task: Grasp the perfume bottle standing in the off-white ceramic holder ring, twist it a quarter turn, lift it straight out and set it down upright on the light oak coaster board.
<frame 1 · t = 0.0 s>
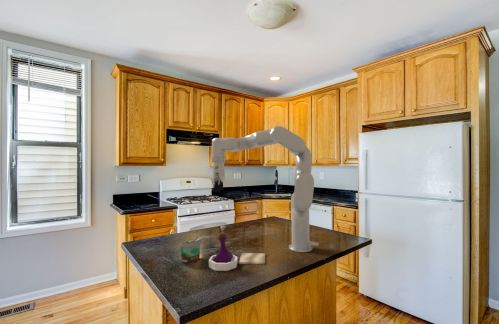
hand: (218, 191, 143), 31 cm above the counter, tool pointing down, fingers open, 9 cm apart
coaster board: (252, 259, 124), on the counter
perfume bottle: (223, 265, 117), resting in holder ring
holder ring: (223, 265, 117), on the counter
food container: (193, 261, 122), on the counter
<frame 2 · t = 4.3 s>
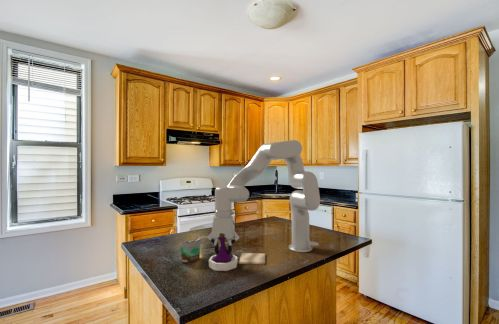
hand: (223, 253, 117), 5 cm above the counter, tool pointing down, fingers closed on perfume bottle, 5 cm apart
perfume bottle: (223, 265, 117), resting in holder ring, touching gripper
everything else where it was.
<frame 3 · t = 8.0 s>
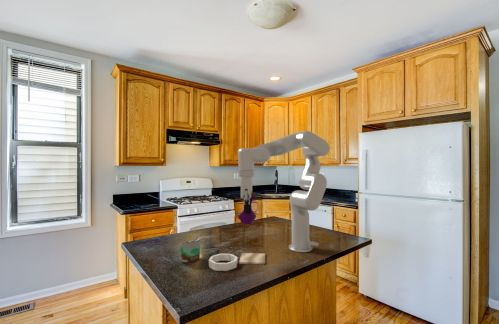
hand: (247, 211, 123), 23 cm above the counter, tool pointing down, fingers closed on perfume bottle, 5 cm apart
perfume bottle: (247, 223, 123), point 18 cm above the counter, touching gripper
everything else where it was.
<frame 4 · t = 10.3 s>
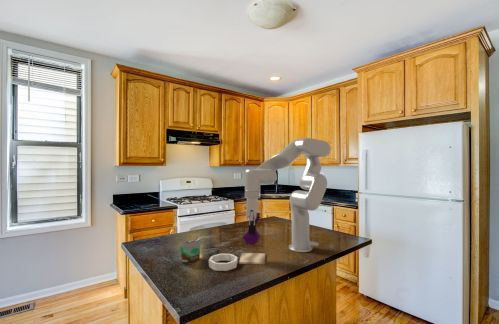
hand: (252, 231, 124), 13 cm above the counter, tool pointing down, fingers closed on perfume bottle, 5 cm apart
perfume bottle: (251, 243, 124), point 8 cm above the counter, touching gripper
everything else where it was.
when the fingers open (7 cm above the counter, at t = 12.0 s): perfume bottle stays where it is, resting on coaster board.
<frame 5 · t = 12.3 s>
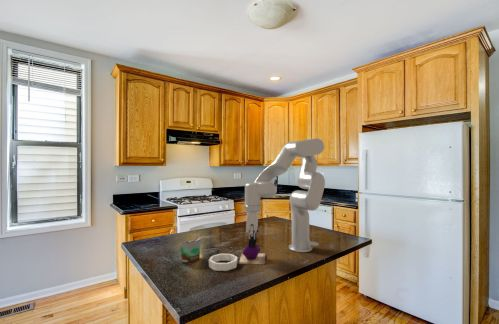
hand: (252, 244, 124), 7 cm above the counter, tool pointing down, fingers open, 7 cm apart
perfume bottle: (251, 258, 124), point 1 cm above the counter, touching coaster board
everything else where it was.
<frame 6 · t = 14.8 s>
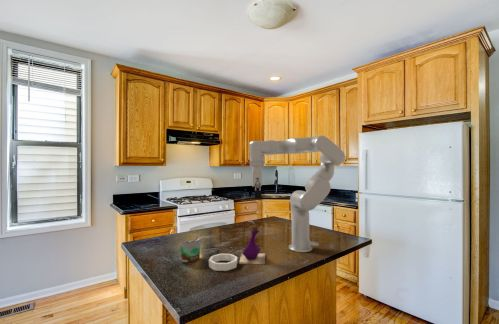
hand: (258, 197, 134), 29 cm above the counter, tool pointing down, fingers open, 9 cm apart
nothing on the counter moved.
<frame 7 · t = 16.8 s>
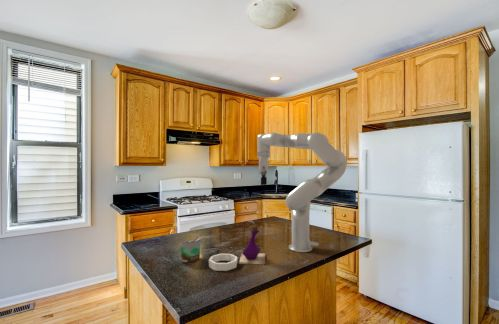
hand: (263, 184, 151), 34 cm above the counter, tool pointing down, fingers open, 9 cm apart
nothing on the counter moved.
at the end: perfume bottle inside the target area on the coaster board (0.6 cm from its centre), point 0.6 cm above the coaster board's base; perfume bottle tilted 0°; the gripper is holding nothing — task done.
